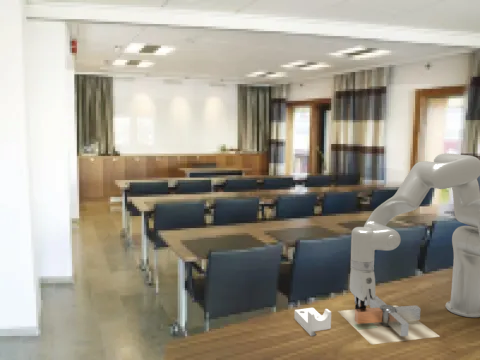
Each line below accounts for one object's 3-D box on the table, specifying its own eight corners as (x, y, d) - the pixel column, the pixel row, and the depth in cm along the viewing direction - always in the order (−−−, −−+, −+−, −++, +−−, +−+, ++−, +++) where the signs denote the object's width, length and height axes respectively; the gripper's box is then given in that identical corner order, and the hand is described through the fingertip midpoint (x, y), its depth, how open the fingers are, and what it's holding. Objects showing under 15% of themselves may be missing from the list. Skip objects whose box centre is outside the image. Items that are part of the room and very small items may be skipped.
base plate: (397, 309, 159) (397, 304, 159) (440, 340, 136) (440, 335, 135) (337, 315, 154) (337, 310, 154) (371, 348, 131) (371, 343, 130)
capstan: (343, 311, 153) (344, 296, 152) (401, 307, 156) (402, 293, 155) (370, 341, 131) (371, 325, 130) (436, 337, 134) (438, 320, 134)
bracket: (330, 333, 140) (331, 312, 140) (310, 336, 138) (311, 314, 137) (312, 317, 153) (313, 296, 152) (294, 319, 151) (294, 299, 150)
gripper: (384, 271, 136) (382, 325, 139) (361, 256, 151) (360, 306, 153) (362, 272, 135) (360, 327, 137) (342, 258, 149) (340, 308, 152)
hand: (360, 316), depth 145 cm, fingers closed
